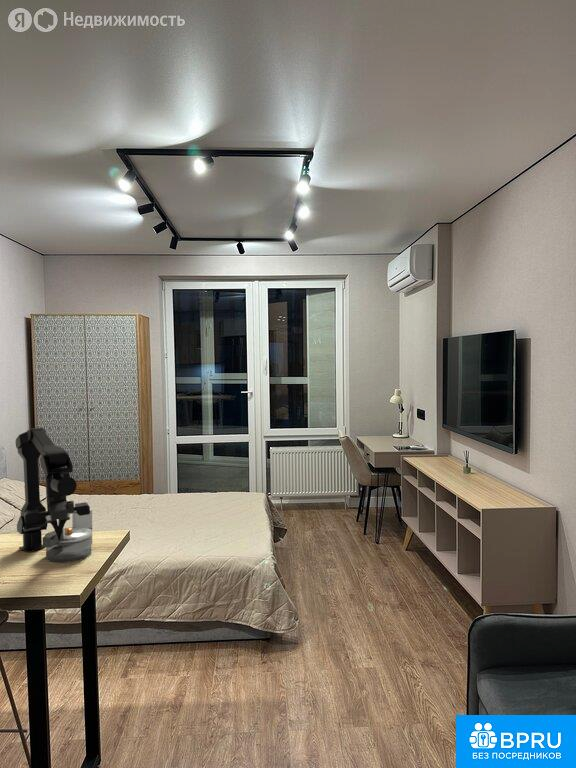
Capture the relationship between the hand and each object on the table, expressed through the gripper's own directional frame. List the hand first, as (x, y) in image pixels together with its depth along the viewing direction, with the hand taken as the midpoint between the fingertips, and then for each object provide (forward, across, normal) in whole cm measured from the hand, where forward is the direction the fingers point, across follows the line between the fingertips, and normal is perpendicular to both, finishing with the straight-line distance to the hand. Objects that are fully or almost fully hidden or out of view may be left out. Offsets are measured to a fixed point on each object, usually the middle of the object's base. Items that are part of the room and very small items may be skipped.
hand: (59, 539), depth 178 cm
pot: (+9, +2, +8) cm, 12 cm away
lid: (+3, +2, +8) cm, 9 cm away
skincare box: (+9, +9, +22) cm, 25 cm away
